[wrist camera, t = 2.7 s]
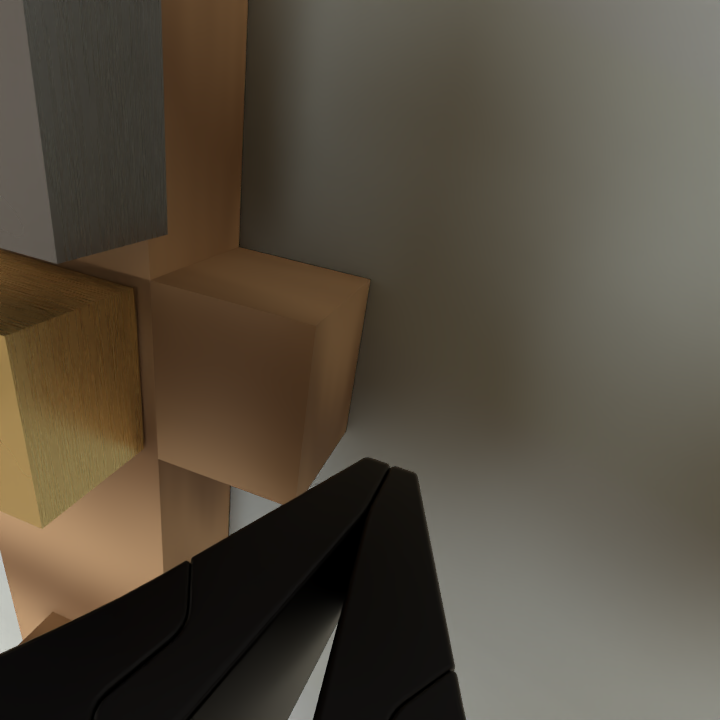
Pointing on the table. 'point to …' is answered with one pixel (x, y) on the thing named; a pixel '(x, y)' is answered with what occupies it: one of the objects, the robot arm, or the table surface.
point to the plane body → (199, 356)
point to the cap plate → (81, 126)
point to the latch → (64, 386)
